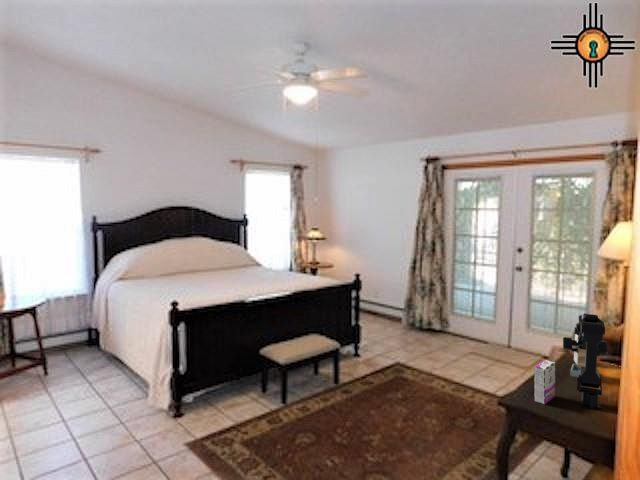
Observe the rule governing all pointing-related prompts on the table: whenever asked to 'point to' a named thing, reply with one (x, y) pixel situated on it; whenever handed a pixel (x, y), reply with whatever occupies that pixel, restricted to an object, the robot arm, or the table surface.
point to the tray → (575, 371)
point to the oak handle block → (581, 358)
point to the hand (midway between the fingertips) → (583, 353)
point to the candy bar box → (544, 381)
